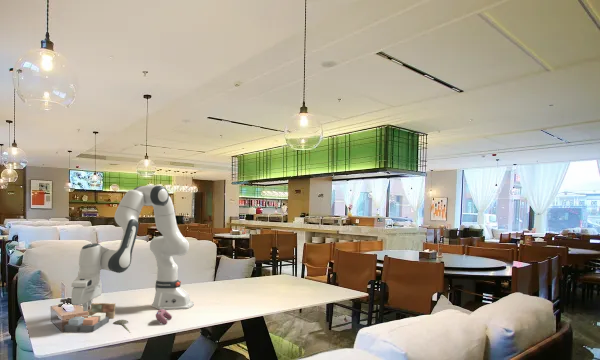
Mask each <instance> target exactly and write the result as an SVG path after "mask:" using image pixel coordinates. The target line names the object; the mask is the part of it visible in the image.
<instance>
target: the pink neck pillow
mask: <svg viewBox="0 0 600 360" xmlns="http://www.w3.org/2000/svg"><path fill="white" fill-rule="evenodd" d="M172 318H173V316H172V314H171V313H169V312H168V311H167V309H158V311H156V314H155V319H156V320H157V321H158V322H159V324H162V325H167V324H168V320H172Z"/></svg>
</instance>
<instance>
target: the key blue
mask: <svg viewBox="0 0 600 360" xmlns="http://www.w3.org/2000/svg"><path fill="white" fill-rule="evenodd" d="M83 320H84V317H82V316H74V317H71V318H68V323H67V324H68V325H79V324H81V323H83Z"/></svg>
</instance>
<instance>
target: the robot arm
mask: <svg viewBox="0 0 600 360" xmlns="http://www.w3.org/2000/svg"><path fill="white" fill-rule="evenodd" d="M144 206H146V207H148V206H149V207H153V214H154V221H155V228H156V230H157V231H158V232H159V233H160V234H161V235H159V236H155V237H153V238H152V239H151V241H150V243H149V250H150V251H151V252H152V254H153V256H154V258H155V261H156V267H157V269H156V271H157V272H156V281H155V287H154V288H155V294H154V299H153V303H152V304H151V307H152V308H155V309H158V310H160V309H164V310H184V309H185V310H186V309H187V310H188V309H190V308H192V307H193V306H194V301H191V296H190V293H189V292H188V291H186V290H185V289H184V288H183V287H181V284H182V281H181V280H179V279H178V273H179V272H178V271H179V265H178V264H177V263H176V262H175V260H174V257H182V256H185V255H187V254H188V253H189V250H190V243H189V241H188V239H187V238H185V237H184V235H183V234H182V233H181V230H180V229H179V226H178V223H177V218H176V212H175V207H174V203H173V200H172V197H171V196H170V195H169V191H168V190H167V188H166V187H164V186H162V185H150V184H149V185H143V186H142V185H139V186H136V187H134V189H129V190H128V191H127V192H125V194H124V195H123V197H122V199H121V200H120V202H119V203H118V206H117V208H116V210H115V213H114V221H115V223H116V224H117V225H118V226H119V227H120V228H121V229H122V230H123V231H122V233H123V234H122V238H121V240H120V244H119V247H118V248H117V249H116V250H115V249H108V248H106V247H104V246H102V245H101V244H100V243H98V242H97V243H95V242H94V243H89V244H86V245H83V246H82V247H81V249H80V252H79V258H78V266H79V270H78V273H77V277H76V278H75V279H74V280H73V281H72V282H71V287H72V289H71V297H70V298H71V302H72V305H76V306H81V305H82V307H83V309H82V310H83V312H88V311H91V304H92V303H93V300H94V299H96V298H98V297H99V296H101V295H102V293H103V284H102V283H103V282H102V280H101V270H105V271H109V272H113V273H117V274H121V273H124V272H125V271H127V270H129V267H130V266H131V263H132V259H133V257H132V256H133V251H134V250H133V249H134V246H135V242H136V239H137V235H138V233H139V225H140V224H139V218H140V215H141V212H142V209H143V207H144Z"/></svg>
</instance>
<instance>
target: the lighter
mask: <svg viewBox="0 0 600 360" xmlns="http://www.w3.org/2000/svg"><path fill="white" fill-rule="evenodd" d="M59 302H60V303H58V304H57V307H61V306H62V305H63V304H65V303H67V304H68V303H70V304H72V302H71V297H67V298H62V299H60V301H59Z"/></svg>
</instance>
